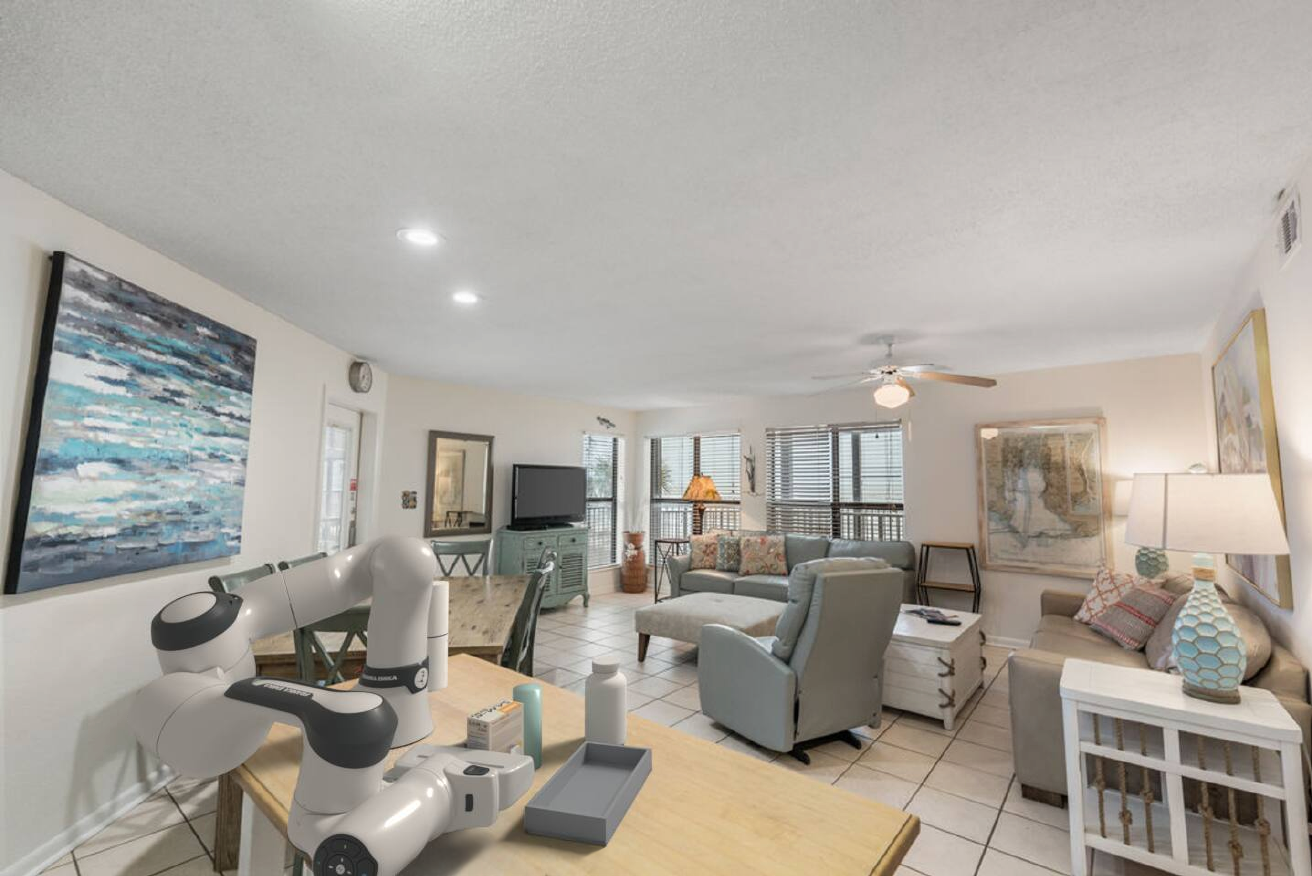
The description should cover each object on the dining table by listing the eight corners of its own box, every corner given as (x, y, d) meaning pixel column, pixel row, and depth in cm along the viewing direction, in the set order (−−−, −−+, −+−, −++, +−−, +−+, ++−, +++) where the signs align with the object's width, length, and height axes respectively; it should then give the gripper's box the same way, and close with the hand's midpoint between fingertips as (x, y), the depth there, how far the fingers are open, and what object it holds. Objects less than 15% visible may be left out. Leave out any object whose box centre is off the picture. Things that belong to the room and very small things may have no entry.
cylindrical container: (410, 691, 136) (412, 585, 138) (426, 681, 143) (428, 580, 145) (437, 692, 135) (439, 585, 137) (452, 682, 142) (454, 581, 144)
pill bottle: (621, 752, 102) (620, 667, 104) (579, 749, 104) (578, 665, 105) (631, 733, 110) (630, 654, 111) (592, 731, 112) (591, 653, 113)
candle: (506, 770, 96) (507, 691, 98) (521, 756, 101) (522, 681, 102) (533, 773, 95) (533, 693, 96) (547, 759, 100) (546, 684, 101)
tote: (524, 832, 79) (524, 805, 79) (585, 761, 99) (585, 740, 99) (606, 846, 75) (605, 818, 76) (651, 769, 96) (651, 748, 96)
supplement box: (501, 779, 93) (502, 697, 95) (524, 785, 91) (525, 702, 92) (464, 804, 86) (465, 715, 87) (488, 812, 84) (489, 720, 85)
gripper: (372, 806, 78) (437, 759, 91) (502, 828, 72) (551, 775, 86) (373, 758, 79) (437, 719, 92) (502, 776, 73) (551, 732, 86)
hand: (493, 746), depth 89 cm, fingers open, 7 cm apart
